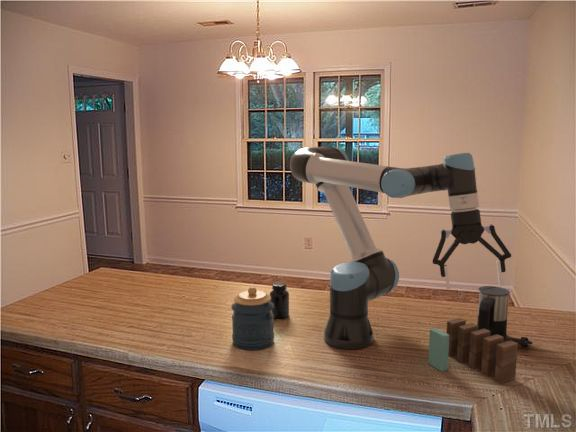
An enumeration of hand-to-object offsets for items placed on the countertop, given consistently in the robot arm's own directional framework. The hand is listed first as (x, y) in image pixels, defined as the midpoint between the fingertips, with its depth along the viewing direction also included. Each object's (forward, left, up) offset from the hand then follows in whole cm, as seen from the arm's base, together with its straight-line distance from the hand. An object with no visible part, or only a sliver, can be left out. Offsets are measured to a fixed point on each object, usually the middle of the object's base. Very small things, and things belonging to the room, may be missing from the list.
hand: (474, 286), depth 132 cm
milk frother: (+19, +5, -22) cm, 29 cm away
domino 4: (-1, -4, -21) cm, 22 cm away
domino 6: (-1, -13, -21) cm, 25 cm away
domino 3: (-1, 0, -21) cm, 21 cm away
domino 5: (-1, -8, -21) cm, 23 cm away
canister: (-50, +39, -22) cm, 67 cm away
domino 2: (-1, +4, -21) cm, 22 cm away
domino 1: (-11, +1, -21) cm, 24 cm away
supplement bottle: (-34, +54, -22) cm, 67 cm away
